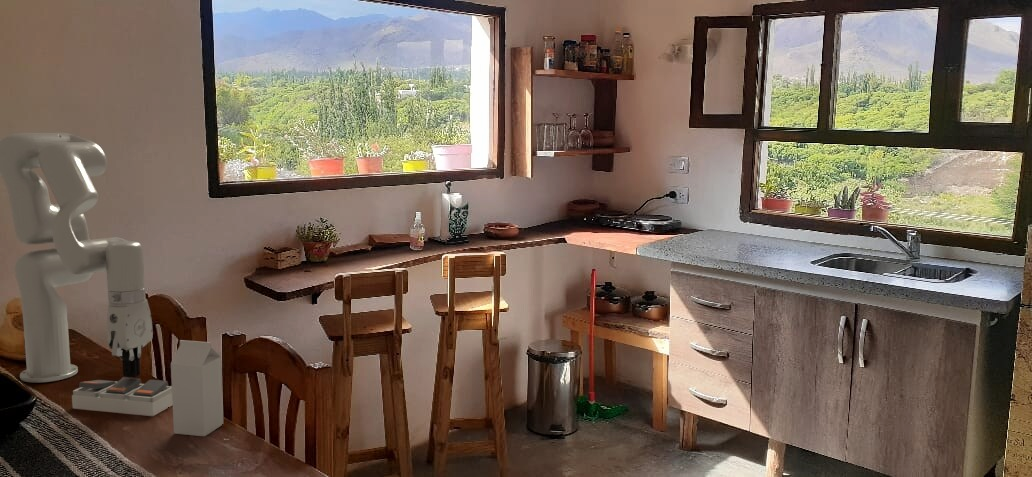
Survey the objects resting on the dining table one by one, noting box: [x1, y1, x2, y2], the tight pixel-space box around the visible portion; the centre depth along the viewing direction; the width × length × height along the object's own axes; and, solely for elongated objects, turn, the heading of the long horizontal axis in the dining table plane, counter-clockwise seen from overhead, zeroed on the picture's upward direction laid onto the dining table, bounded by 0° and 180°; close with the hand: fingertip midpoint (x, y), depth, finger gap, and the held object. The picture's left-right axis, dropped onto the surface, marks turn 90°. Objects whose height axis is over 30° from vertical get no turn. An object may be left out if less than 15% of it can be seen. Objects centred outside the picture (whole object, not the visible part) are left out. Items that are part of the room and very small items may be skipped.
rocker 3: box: [133, 379, 169, 397], centre depth 183 cm, size 4×6×1 cm
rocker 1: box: [78, 379, 116, 389], centre depth 186 cm, size 4×6×1 cm
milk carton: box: [170, 339, 224, 437], centre depth 170 cm, size 7×7×19 cm
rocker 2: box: [106, 376, 142, 394], centre depth 184 cm, size 4×6×1 cm
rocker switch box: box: [71, 380, 173, 417], centre depth 185 cm, size 20×8×4 cm, turn 79°
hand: (131, 375), depth 186 cm, fingers closed
